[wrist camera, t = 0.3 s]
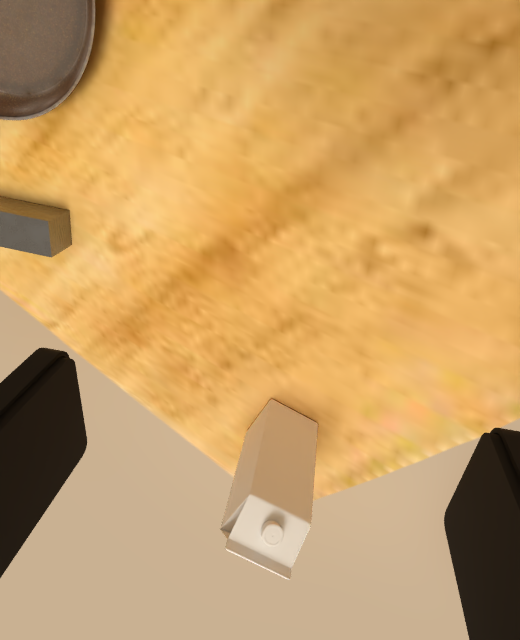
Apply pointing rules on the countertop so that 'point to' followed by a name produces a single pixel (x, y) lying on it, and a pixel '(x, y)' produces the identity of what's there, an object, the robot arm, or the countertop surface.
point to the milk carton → (272, 490)
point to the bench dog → (34, 227)
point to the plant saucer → (42, 53)
